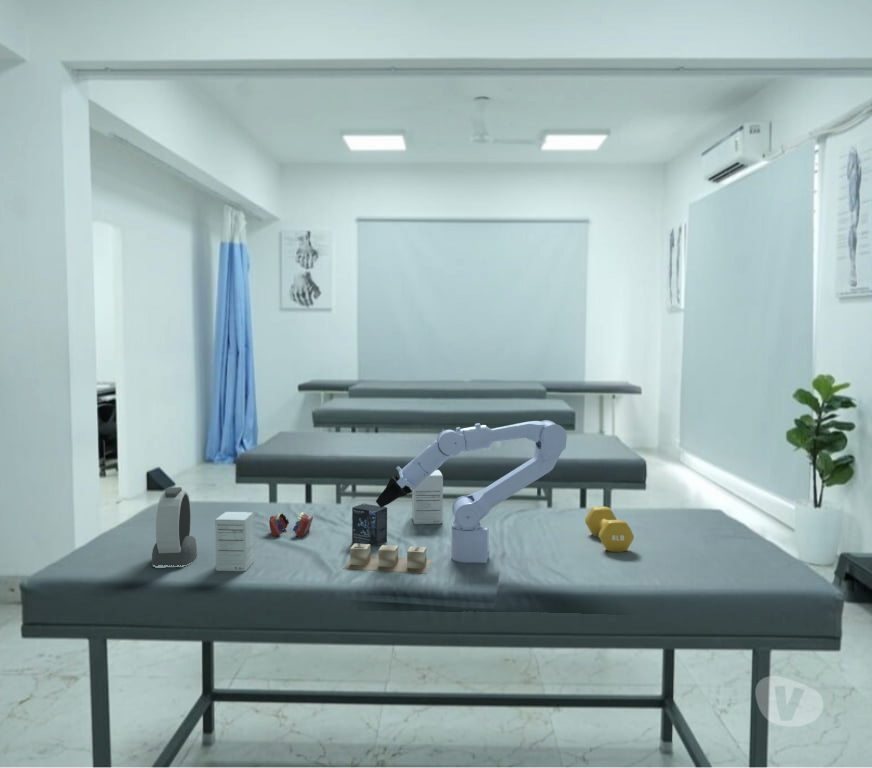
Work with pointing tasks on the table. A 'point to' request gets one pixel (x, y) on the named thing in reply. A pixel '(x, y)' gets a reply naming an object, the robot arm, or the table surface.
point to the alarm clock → (174, 530)
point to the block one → (416, 557)
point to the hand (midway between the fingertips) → (381, 503)
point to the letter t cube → (360, 554)
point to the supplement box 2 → (428, 500)
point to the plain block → (388, 555)
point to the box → (369, 524)
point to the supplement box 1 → (234, 541)
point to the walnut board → (399, 567)
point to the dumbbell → (609, 529)
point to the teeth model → (281, 523)
